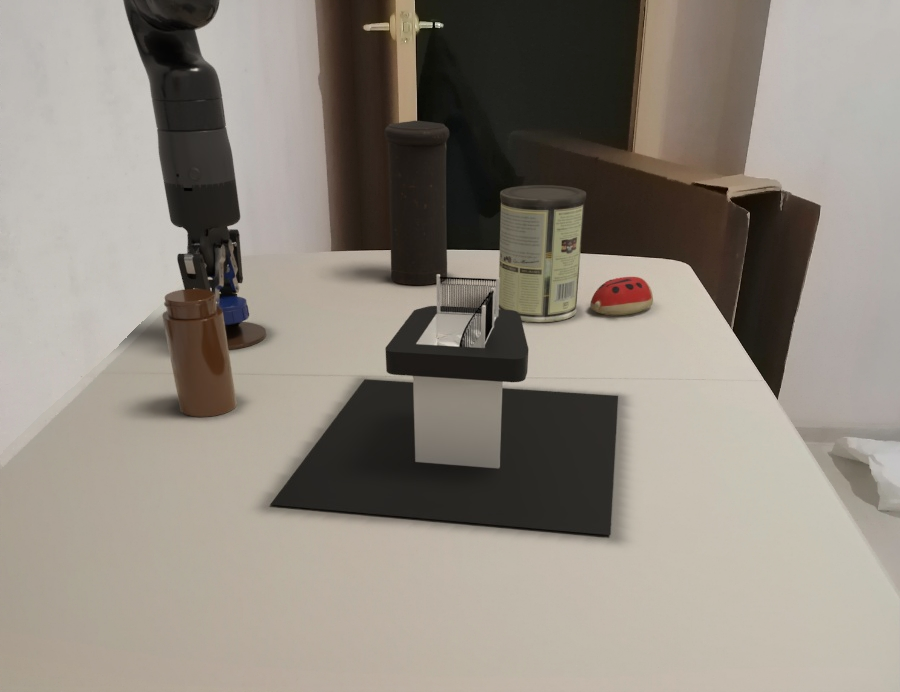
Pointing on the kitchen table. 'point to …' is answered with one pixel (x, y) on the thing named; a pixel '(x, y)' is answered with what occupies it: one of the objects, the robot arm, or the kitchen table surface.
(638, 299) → the ladybug figurine
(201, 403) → the jar
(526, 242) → the coffee can
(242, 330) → the coaster
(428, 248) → the container
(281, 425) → the kitchen table surface
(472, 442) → the black-topped pedestal
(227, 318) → the lid
